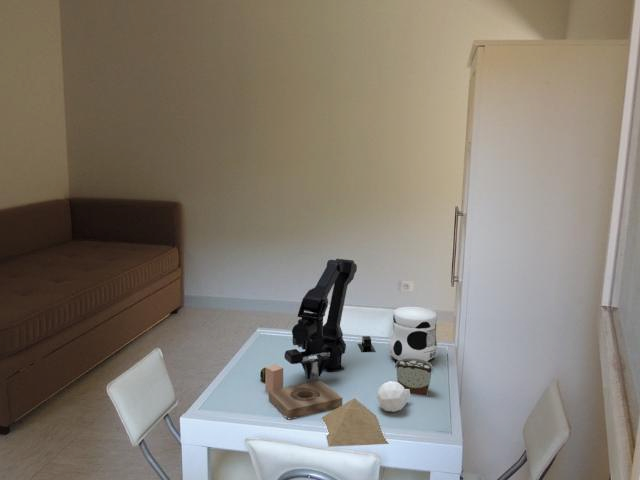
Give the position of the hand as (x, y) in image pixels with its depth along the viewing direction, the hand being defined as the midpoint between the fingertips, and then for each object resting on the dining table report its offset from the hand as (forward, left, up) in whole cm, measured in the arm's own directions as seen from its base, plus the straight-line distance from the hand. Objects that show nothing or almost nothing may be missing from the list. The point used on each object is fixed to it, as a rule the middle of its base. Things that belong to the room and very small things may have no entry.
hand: (313, 377), depth 192 cm
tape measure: (+11, -9, -2) cm, 14 cm away
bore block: (+9, +12, -2) cm, 15 cm away
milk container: (-43, -3, -2) cm, 43 cm away
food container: (-27, +19, -2) cm, 33 cm away
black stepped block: (-34, -20, -3) cm, 40 cm away
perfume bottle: (-14, +27, -2) cm, 30 cm away
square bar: (+14, 0, -2) cm, 14 cm away
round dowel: (0, 0, -2) cm, 2 cm away
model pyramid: (+4, +32, -3) cm, 32 cm away
